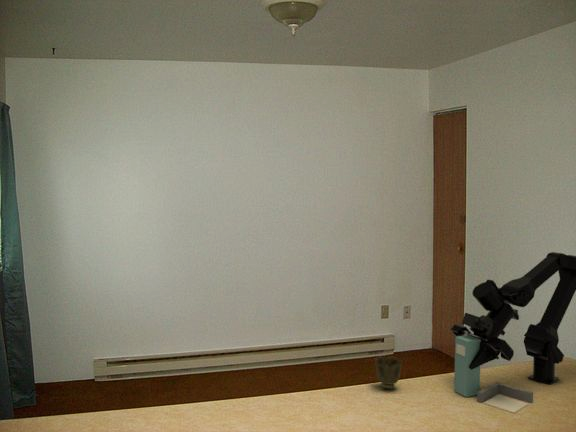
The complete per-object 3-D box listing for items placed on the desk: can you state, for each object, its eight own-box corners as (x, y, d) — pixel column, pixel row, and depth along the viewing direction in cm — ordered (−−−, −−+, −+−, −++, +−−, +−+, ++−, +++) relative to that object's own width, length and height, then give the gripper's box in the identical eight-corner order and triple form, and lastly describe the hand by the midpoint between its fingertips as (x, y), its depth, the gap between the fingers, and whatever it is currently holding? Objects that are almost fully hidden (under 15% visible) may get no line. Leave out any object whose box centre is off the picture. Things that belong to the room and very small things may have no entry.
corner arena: (496, 391, 147) (496, 382, 147) (533, 401, 140) (533, 392, 140) (476, 401, 140) (477, 392, 140) (514, 413, 133) (514, 403, 133)
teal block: (467, 388, 148) (468, 335, 148) (479, 394, 144) (480, 339, 143) (453, 390, 147) (454, 336, 146) (465, 397, 142) (466, 341, 141)
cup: (400, 383, 152) (400, 356, 152) (402, 393, 145) (403, 364, 144) (373, 382, 153) (373, 355, 152) (375, 392, 145) (375, 363, 145)
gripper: (456, 296, 154) (424, 338, 150) (506, 310, 137) (472, 357, 133) (477, 320, 158) (446, 362, 154) (528, 337, 141) (495, 384, 137)
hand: (463, 365), depth 144 cm, fingers closed on teal block, 5 cm apart
